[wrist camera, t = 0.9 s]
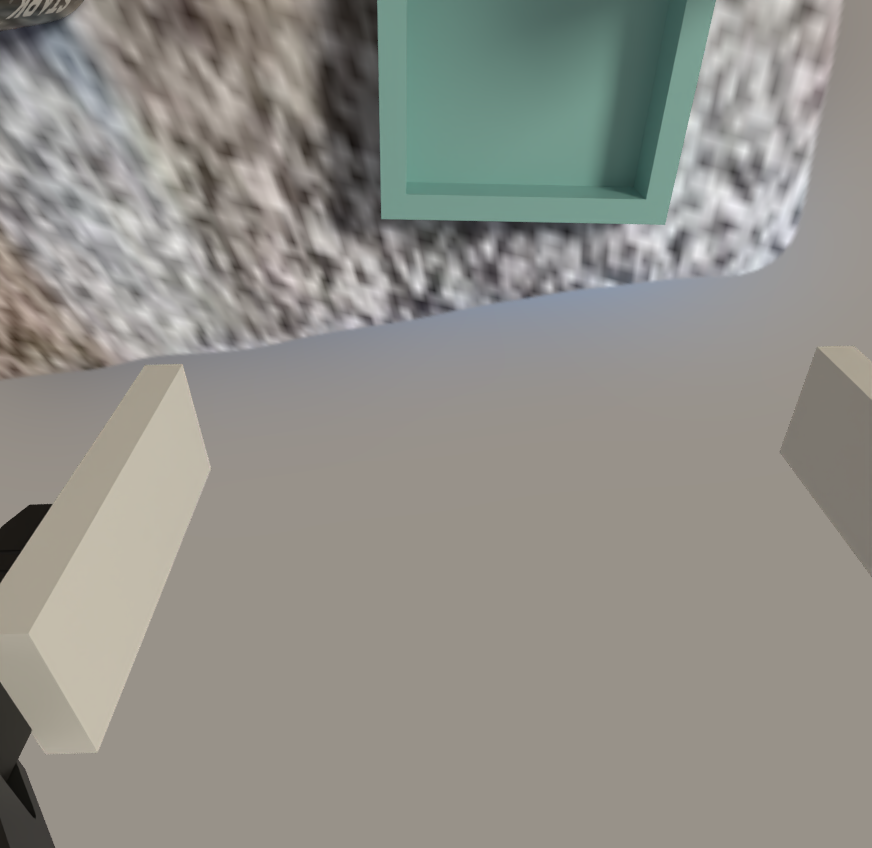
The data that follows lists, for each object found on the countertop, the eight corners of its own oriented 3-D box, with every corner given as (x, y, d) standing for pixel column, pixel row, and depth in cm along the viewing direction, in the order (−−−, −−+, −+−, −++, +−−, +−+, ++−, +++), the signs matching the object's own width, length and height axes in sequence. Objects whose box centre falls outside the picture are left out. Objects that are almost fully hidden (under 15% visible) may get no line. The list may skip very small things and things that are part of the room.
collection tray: (378, -151, 27) (374, -163, 24) (718, -137, 27) (749, -147, 25) (383, 200, 35) (381, 219, 32) (647, 206, 35) (664, 224, 33)
